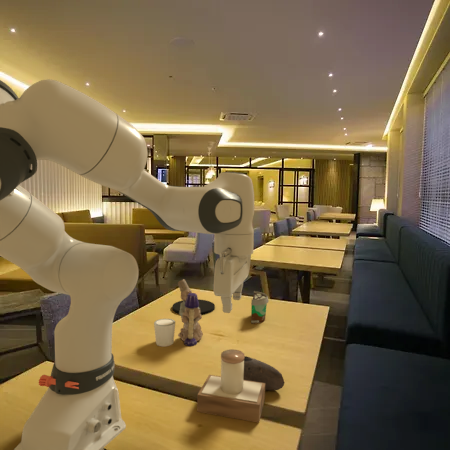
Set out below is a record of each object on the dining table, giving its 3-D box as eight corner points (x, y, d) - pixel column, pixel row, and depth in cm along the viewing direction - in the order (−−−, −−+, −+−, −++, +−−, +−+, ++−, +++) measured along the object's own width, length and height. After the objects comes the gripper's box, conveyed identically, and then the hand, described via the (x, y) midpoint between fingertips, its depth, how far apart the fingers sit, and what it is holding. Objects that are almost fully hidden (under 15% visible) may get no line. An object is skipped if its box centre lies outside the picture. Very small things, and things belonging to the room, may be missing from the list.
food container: (267, 327, 129) (268, 300, 128) (250, 326, 130) (251, 299, 129) (268, 316, 141) (269, 291, 140) (253, 314, 142) (254, 290, 141)
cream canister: (241, 396, 78) (241, 361, 77) (217, 392, 79) (218, 358, 78) (245, 383, 83) (246, 351, 82) (223, 380, 84) (224, 348, 83)
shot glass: (171, 348, 110) (171, 326, 110) (150, 346, 112) (150, 324, 111) (178, 339, 117) (178, 319, 116) (158, 337, 118) (158, 317, 118)
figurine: (174, 335, 120) (174, 278, 118) (197, 331, 124) (197, 275, 122) (183, 345, 112) (184, 284, 110) (207, 340, 116) (208, 281, 114)
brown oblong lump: (286, 388, 89) (287, 362, 88) (280, 399, 84) (281, 372, 83) (233, 374, 95) (233, 350, 95) (224, 383, 91) (225, 358, 90)
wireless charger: (197, 301, 160) (197, 296, 160) (223, 311, 147) (223, 306, 147) (164, 309, 148) (164, 304, 148) (189, 320, 135) (189, 315, 135)
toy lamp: (199, 341, 116) (199, 292, 115) (197, 347, 112) (198, 296, 110) (185, 340, 116) (185, 291, 115) (182, 346, 112) (183, 295, 110)
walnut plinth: (259, 422, 75) (259, 404, 75) (197, 411, 79) (197, 393, 78) (264, 399, 84) (265, 382, 84) (209, 390, 87) (209, 373, 87)
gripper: (237, 253, 68) (235, 322, 69) (255, 240, 88) (253, 294, 89) (206, 251, 70) (205, 319, 71) (230, 239, 89) (229, 292, 90)
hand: (232, 305), depth 80 cm, fingers open, 8 cm apart
